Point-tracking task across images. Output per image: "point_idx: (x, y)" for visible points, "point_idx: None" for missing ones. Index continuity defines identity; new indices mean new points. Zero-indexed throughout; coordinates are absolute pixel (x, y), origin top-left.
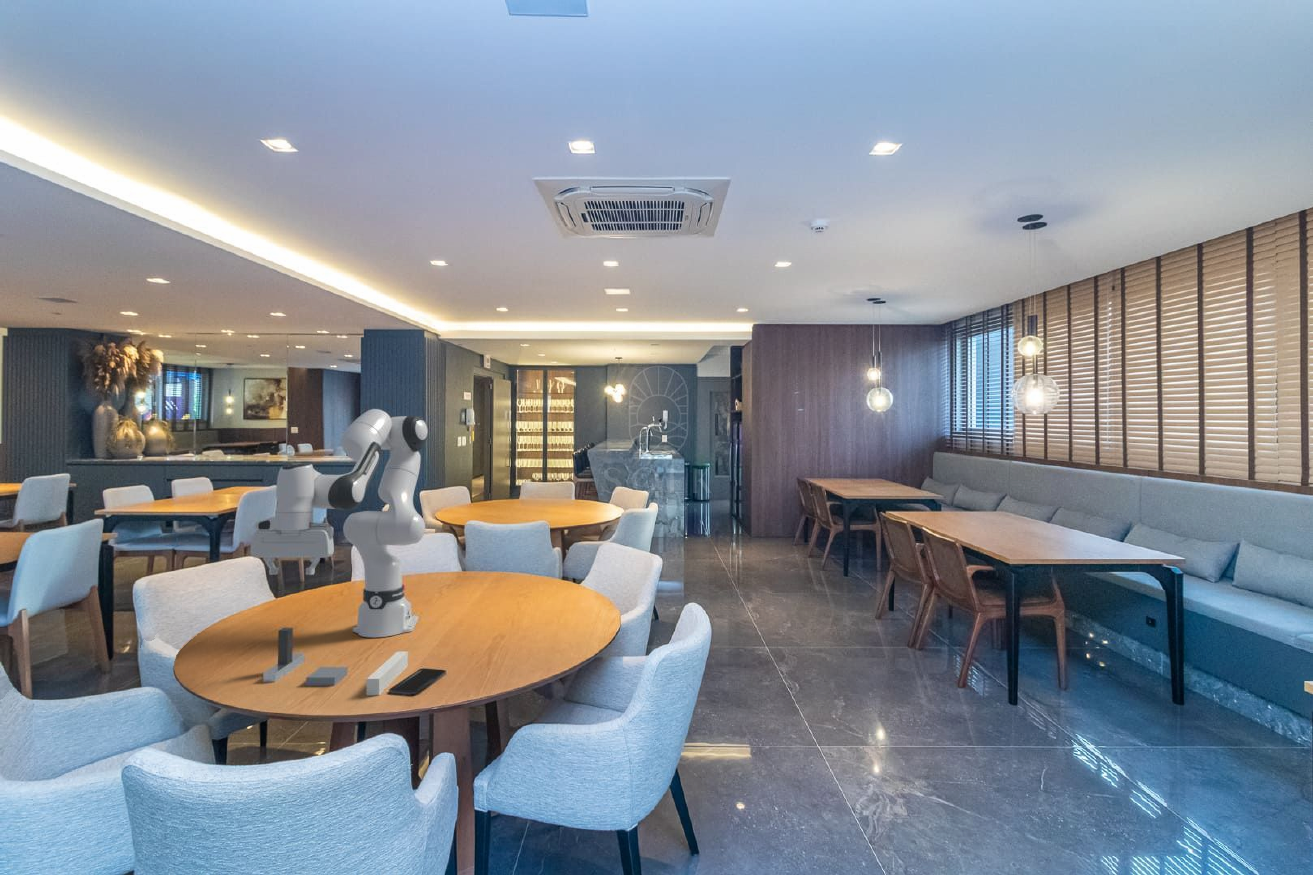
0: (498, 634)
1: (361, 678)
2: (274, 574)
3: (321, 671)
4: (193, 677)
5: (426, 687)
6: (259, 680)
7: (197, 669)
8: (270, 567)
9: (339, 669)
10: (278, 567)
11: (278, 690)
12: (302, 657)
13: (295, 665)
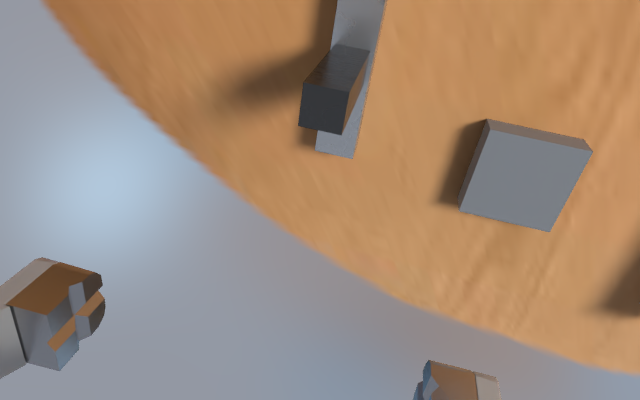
0: None
1: (633, 183)
2: (100, 313)
3: (499, 172)
4: (98, 52)
5: None
6: None
7: None
8: (6, 364)
9: (562, 167)
10: (49, 316)
11: (387, 210)
12: None
13: (380, 30)
